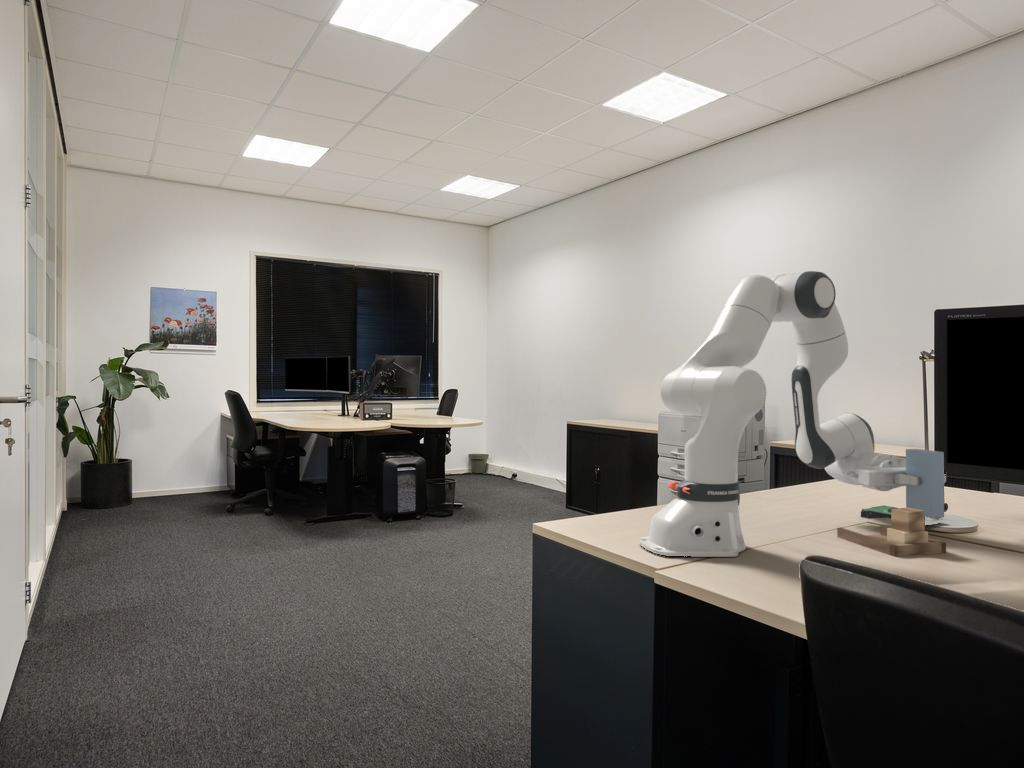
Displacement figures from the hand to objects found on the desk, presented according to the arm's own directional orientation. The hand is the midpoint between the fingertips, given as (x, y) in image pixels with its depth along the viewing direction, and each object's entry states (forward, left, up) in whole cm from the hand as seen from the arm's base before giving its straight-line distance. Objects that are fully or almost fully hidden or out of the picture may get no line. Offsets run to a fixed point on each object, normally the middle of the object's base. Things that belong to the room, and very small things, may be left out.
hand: (927, 480), depth 140 cm
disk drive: (+13, +23, -15) cm, 30 cm away
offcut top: (-12, -7, -8) cm, 16 cm away
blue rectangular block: (0, +1, -7) cm, 8 cm away
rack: (-13, -3, -14) cm, 19 cm away
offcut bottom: (-12, -8, -12) cm, 19 cm away
